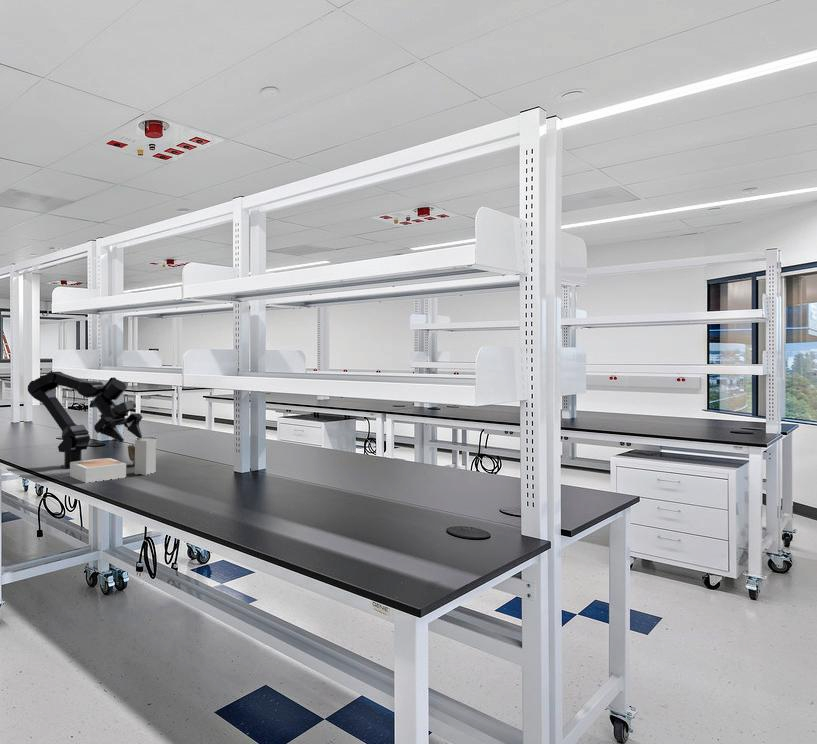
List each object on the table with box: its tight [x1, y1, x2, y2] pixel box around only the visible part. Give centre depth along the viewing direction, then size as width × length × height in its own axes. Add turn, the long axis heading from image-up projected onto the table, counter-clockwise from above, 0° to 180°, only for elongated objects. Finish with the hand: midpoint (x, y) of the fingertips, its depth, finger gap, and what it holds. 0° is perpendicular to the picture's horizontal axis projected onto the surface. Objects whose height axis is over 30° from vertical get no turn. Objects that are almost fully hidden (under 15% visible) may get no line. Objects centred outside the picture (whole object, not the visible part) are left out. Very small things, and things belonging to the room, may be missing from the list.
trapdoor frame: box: [69, 457, 127, 484], centre depth 204 cm, size 15×13×5 cm
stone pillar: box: [134, 438, 157, 476], centre depth 211 cm, size 5×5×12 cm
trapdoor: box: [77, 458, 120, 467], centre depth 204 cm, size 12×10×4 cm
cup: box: [127, 444, 135, 467], centre depth 226 cm, size 8×7×8 cm
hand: (132, 439), depth 213 cm, fingers open, 9 cm apart
